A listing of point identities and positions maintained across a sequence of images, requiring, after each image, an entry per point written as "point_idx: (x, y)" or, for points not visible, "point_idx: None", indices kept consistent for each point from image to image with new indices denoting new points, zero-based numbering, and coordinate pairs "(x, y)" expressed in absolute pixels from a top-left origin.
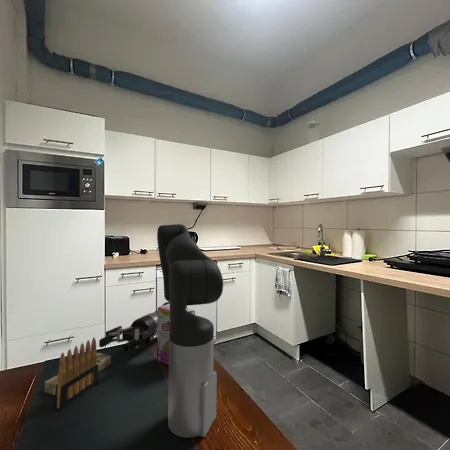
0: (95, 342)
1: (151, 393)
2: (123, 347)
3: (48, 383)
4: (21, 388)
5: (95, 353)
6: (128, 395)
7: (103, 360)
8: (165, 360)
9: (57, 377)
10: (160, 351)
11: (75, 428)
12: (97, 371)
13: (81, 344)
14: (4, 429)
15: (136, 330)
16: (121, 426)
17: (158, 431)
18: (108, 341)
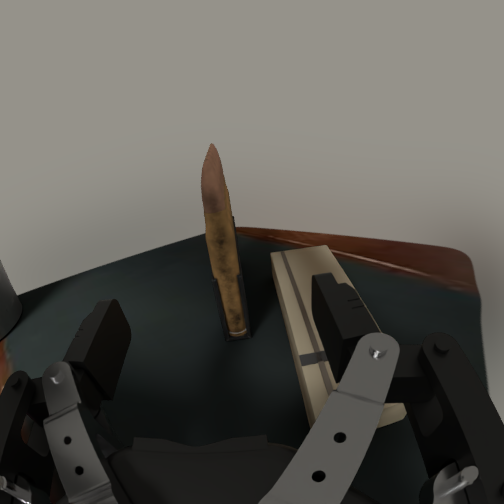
0: (201, 183)
1: (49, 360)
2: (119, 308)
3: (313, 248)
4: (383, 253)
5: (206, 228)
6: None
7: (304, 378)
8: None
9: (323, 260)
10: None
11: (157, 262)
12: (216, 301)
13: (210, 154)
14: (265, 228)
15: (94, 490)
16: (86, 288)
17: (35, 300)
18: (331, 350)
